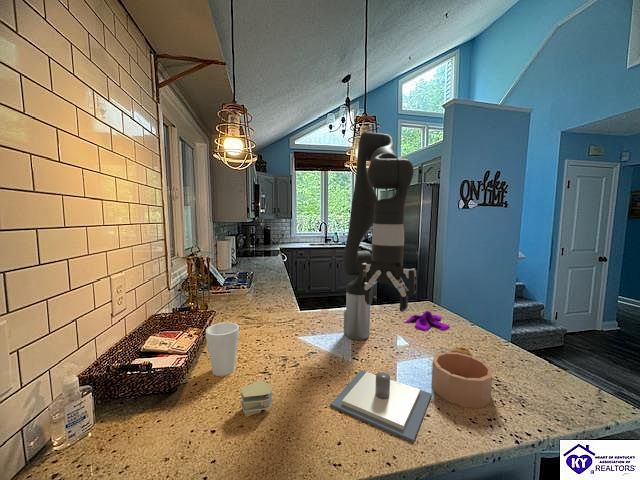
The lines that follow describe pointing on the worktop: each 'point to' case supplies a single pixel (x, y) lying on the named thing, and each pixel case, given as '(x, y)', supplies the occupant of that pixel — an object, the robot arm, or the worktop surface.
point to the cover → (383, 399)
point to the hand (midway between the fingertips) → (385, 307)
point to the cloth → (427, 321)
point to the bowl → (462, 379)
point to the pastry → (461, 350)
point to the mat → (407, 433)
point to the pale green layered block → (256, 397)
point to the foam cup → (222, 347)
